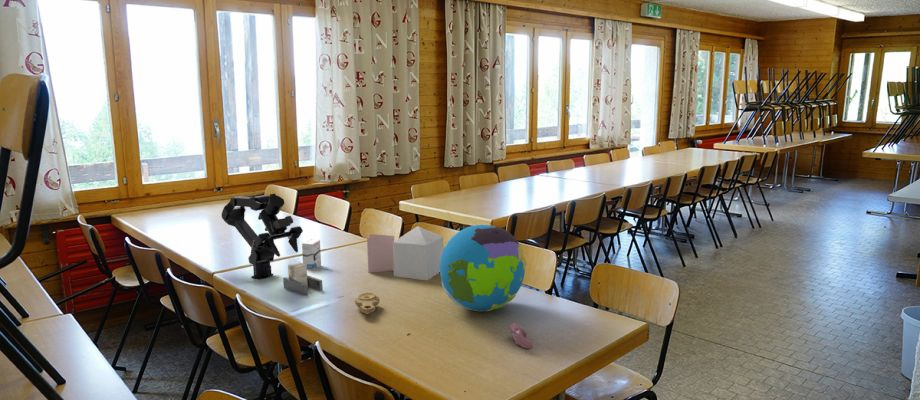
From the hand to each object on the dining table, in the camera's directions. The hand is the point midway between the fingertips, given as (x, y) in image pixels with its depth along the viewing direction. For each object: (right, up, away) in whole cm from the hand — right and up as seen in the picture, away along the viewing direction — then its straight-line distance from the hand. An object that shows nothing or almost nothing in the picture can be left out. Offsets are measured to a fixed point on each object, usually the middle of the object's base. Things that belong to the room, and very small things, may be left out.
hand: (288, 254), depth 238 cm
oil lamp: (+35, -18, -23) cm, 45 cm away
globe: (+74, -18, -23) cm, 80 cm away
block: (+4, -13, -1) cm, 13 cm away
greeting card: (+33, -9, +23) cm, 41 cm away
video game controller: (+85, -23, -51) cm, 102 cm away
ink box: (+3, -9, +28) cm, 29 cm away
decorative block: (+50, -10, +19) cm, 54 cm away
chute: (+6, -14, -3) cm, 16 cm away
